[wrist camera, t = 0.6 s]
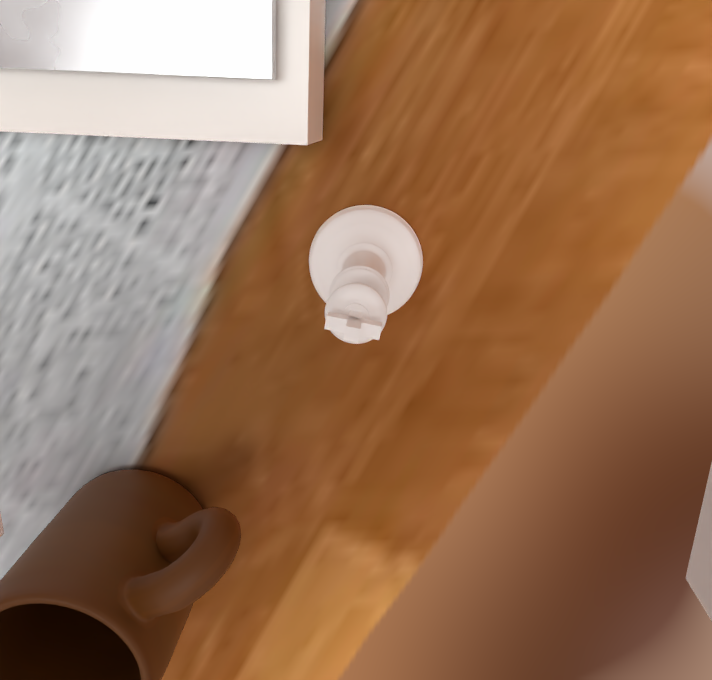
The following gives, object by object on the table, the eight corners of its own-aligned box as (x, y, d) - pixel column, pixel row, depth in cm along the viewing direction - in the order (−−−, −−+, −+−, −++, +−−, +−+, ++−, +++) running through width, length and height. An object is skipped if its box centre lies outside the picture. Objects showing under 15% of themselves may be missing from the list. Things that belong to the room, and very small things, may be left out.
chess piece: (320, 193, 28) (282, 234, 18) (434, 217, 28) (455, 270, 18) (300, 304, 30) (256, 393, 20) (408, 326, 30) (415, 426, 20)
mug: (216, 386, 31) (144, 496, 22) (315, 502, 33) (285, 647, 24) (39, 512, 34) (-88, 654, 25) (139, 613, 36) (53, 779, 27)
